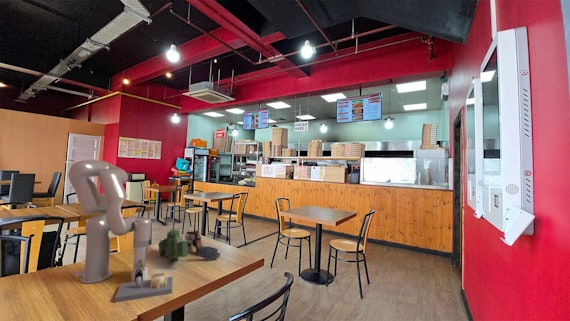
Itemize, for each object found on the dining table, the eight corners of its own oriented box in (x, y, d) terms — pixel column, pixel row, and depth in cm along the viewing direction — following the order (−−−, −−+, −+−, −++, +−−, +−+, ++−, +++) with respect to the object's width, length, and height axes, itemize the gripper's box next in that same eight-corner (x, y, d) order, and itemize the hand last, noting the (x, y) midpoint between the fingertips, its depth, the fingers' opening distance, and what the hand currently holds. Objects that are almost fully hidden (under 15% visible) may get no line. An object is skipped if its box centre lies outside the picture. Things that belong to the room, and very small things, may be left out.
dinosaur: (197, 257, 137) (194, 223, 142) (176, 261, 129) (174, 226, 134) (176, 259, 161) (175, 231, 166) (158, 264, 153) (156, 233, 159)
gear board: (114, 302, 102) (115, 284, 102) (120, 287, 114) (121, 271, 114) (172, 293, 111) (172, 276, 111) (172, 280, 123) (173, 265, 123)
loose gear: (130, 284, 117) (130, 273, 118) (132, 277, 124) (133, 267, 124) (147, 281, 120) (148, 271, 121) (148, 275, 127) (149, 266, 127)
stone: (217, 257, 156) (217, 241, 156) (221, 260, 151) (221, 244, 152) (195, 261, 147) (196, 245, 147) (198, 265, 143) (199, 248, 143)
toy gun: (191, 251, 179) (190, 230, 182) (204, 253, 157) (203, 229, 161) (184, 252, 176) (184, 231, 179) (197, 254, 155) (196, 230, 158)
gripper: (135, 238, 129) (134, 271, 128) (130, 249, 113) (128, 286, 113) (151, 237, 132) (150, 269, 132) (148, 247, 116) (146, 283, 116)
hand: (140, 277), depth 122 cm, fingers open, 9 cm apart
